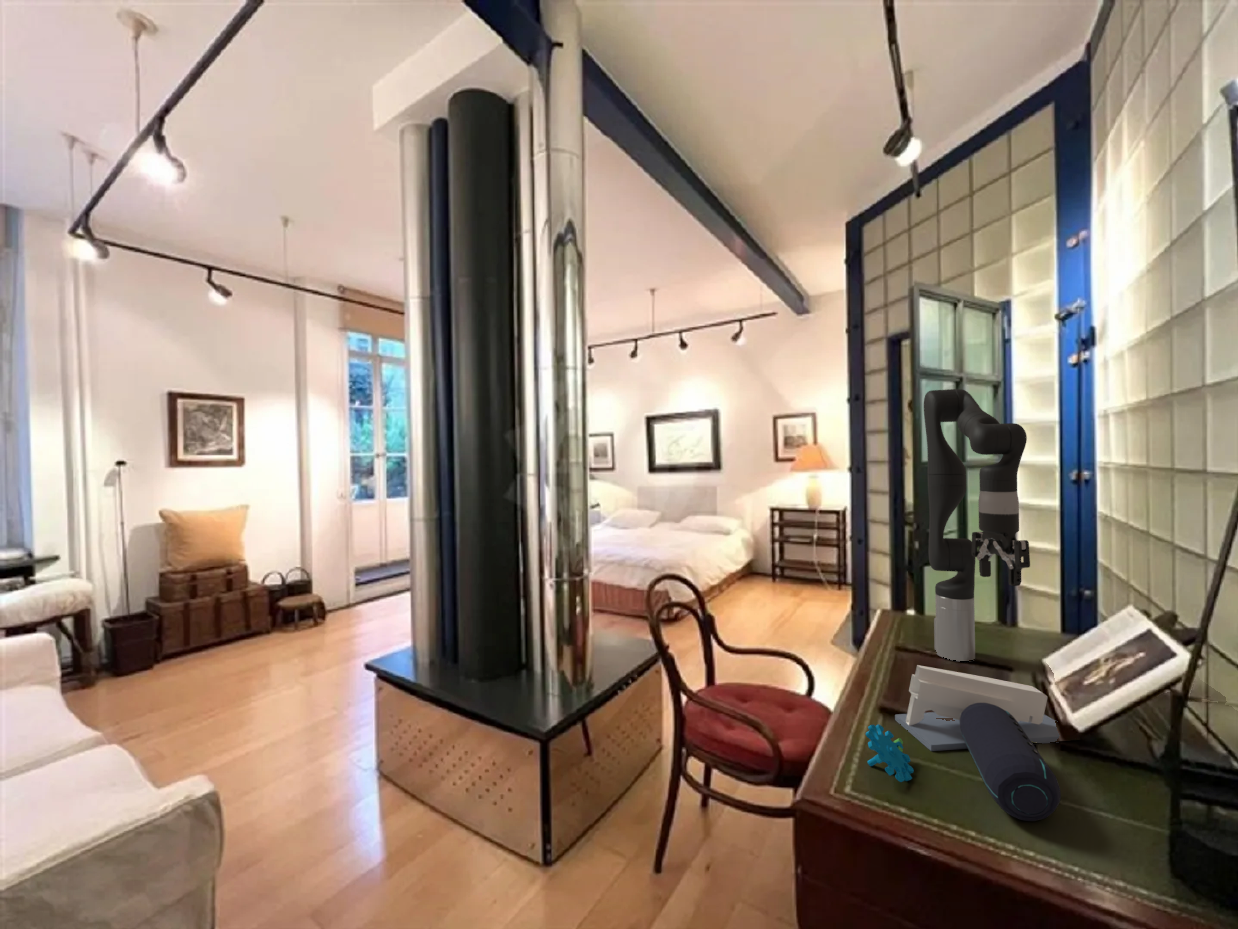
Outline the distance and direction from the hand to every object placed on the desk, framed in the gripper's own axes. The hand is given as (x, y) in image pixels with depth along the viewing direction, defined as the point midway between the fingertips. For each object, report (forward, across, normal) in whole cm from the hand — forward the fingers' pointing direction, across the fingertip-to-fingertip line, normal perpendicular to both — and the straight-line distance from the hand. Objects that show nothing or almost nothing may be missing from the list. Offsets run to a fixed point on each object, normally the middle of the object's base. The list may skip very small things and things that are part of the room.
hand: (999, 580), depth 121 cm
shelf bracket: (+27, -11, +15) cm, 33 cm away
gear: (+28, -22, +40) cm, 54 cm away
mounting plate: (+28, -11, +13) cm, 33 cm away
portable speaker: (+28, -28, +22) cm, 45 cm away
